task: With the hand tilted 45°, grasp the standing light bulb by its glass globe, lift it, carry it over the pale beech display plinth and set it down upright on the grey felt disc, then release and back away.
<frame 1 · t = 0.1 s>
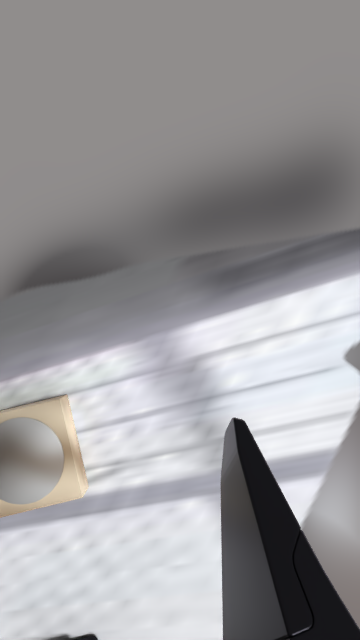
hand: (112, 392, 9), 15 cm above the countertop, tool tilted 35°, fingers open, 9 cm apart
plinth: (32, 451, 24), on the countertop
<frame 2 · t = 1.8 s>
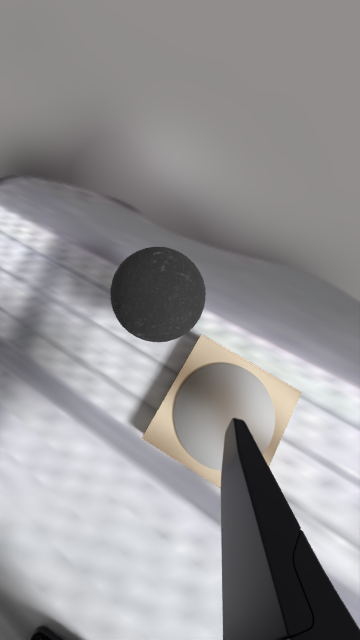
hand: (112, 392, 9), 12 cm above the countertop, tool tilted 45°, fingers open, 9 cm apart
plinth: (220, 412, 21), on the countertop
light bulb: (162, 322, 22), on the countertop
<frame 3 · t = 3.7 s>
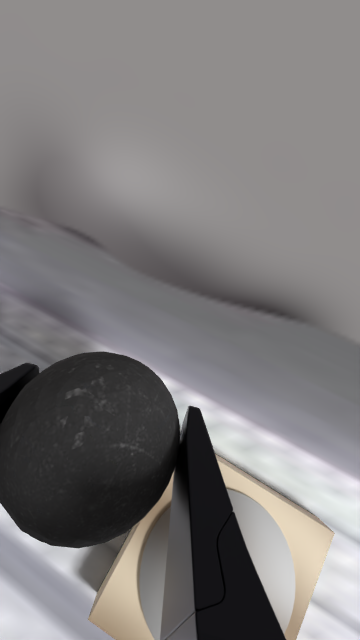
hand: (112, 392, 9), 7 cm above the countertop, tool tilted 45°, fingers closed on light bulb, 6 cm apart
plinth: (212, 553, 14), on the countertop
light bulb: (130, 410, 16), on the countertop, touching gripper
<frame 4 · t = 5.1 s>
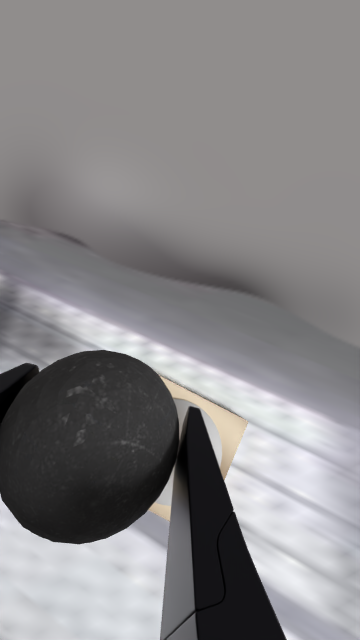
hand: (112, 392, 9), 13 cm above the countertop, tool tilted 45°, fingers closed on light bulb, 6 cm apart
plinth: (173, 444, 21), on the countertop
light bulb: (128, 408, 16), point 6 cm above the countertop, touching gripper
when the fingers open (9 cm above the countertop, at t = 6.5 s): light bulb stays where it is, resting on plinth.
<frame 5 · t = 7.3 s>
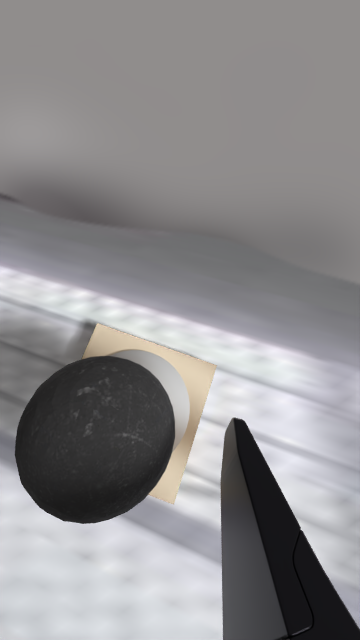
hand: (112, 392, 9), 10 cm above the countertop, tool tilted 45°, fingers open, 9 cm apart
plinth: (135, 405, 18), on the countertop
light bulb: (131, 409, 17), point 2 cm above the countertop, touching plinth
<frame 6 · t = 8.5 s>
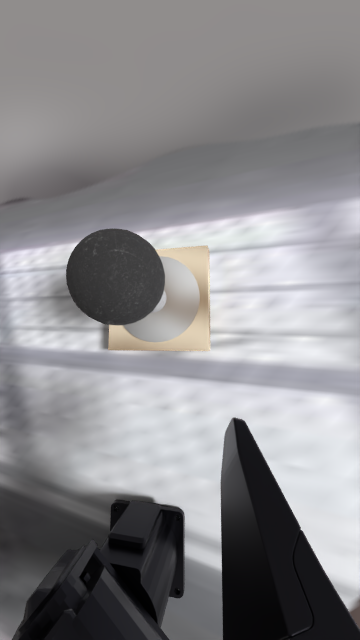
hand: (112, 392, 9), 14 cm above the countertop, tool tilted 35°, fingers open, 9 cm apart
plinth: (161, 301, 24), on the countertop
light bulb: (156, 300, 22), point 2 cm above the countertop, touching plinth
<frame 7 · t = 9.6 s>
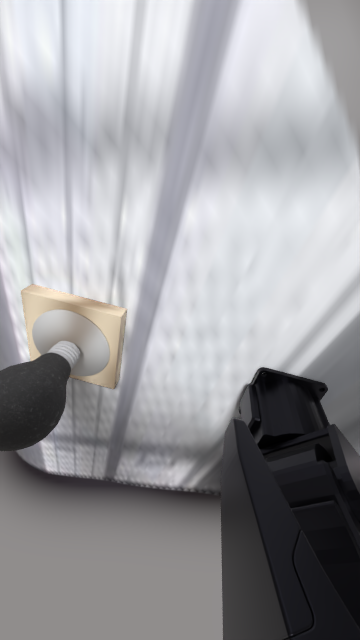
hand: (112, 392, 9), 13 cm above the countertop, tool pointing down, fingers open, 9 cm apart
plinth: (79, 335, 25), on the countertop
light bulb: (73, 345, 24), point 2 cm above the countertop, touching plinth
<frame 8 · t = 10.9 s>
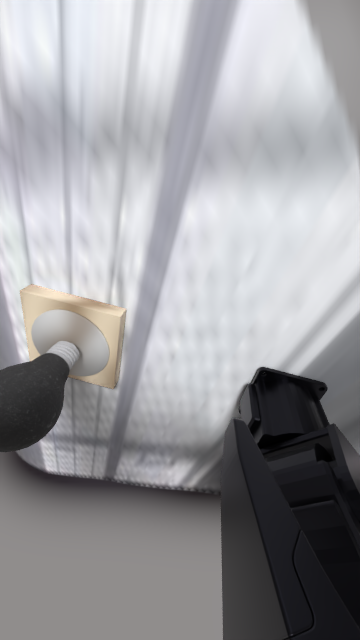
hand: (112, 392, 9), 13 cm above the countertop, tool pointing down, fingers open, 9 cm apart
plinth: (78, 335, 25), on the countertop
light bulb: (72, 345, 24), point 2 cm above the countertop, touching plinth
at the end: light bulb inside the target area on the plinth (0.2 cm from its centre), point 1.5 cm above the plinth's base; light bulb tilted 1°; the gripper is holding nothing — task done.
